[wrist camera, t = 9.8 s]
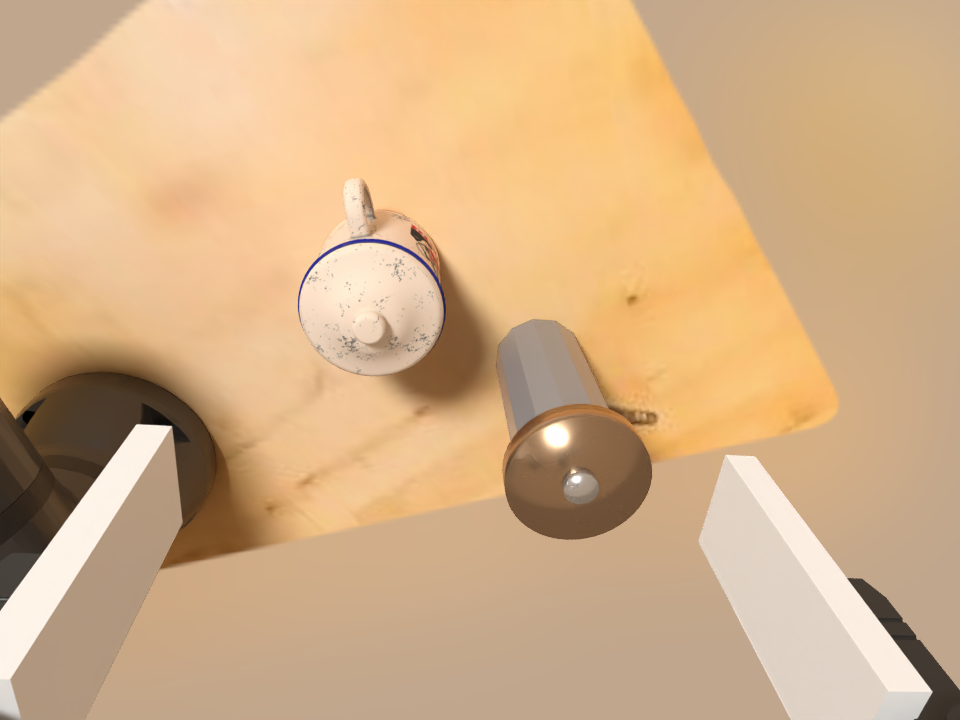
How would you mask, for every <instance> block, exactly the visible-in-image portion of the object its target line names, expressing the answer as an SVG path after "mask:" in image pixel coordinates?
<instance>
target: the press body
mask: <svg viewBox="0 0 960 720" xmlns="http://www.w3.org/2000/svg"><path fill="white" fill-rule="evenodd" d="M496 368H497V373H498V378H499V383H500V389H501V394H502V399H503V404H504V409H505V414H506V419H507V424H508V429H509V434H510V440H512V438H513V437H514V436H515V434H516V433H517V432H518V431H519V430H520V429H521V428H522V427H523V426H524V425H525V424H526V423H527V422H529V421H530V420H531V419H533V418H534V417H536V416H537V415H539V414H541V413H543V412H545V411H547V410H550V409H553V408H556V407H560V406H564V405H570V404H592V405H598V406H602V407H605V408H608V406H607V404H606V402H605V400H604V398H603V395H602V393H601V391H600V389H599V387H598V385H597V383H596V380H595V378H594V376H593V374H592V372H591V370H590V368H589V365H588V363H587V361H586V359H585V357H584V355H583V353H582V350H581V348H580V346H579V344H578V342H577V340H576V338H575V336H574V333H573V332H571V331H570V330H568V329H567V328H565V327H564V326H562V325H561V324H559V323H558V322H556V321H550V320H535V319H533V320H530V321H528V322H526V323H524V324H521V325H519V326H517V327H514V328H512V329H511V331H510V332H509V333H508V334H507V336H506V337H505V338H504V339H503V341H502V342H501V343H500V344H499V346H498V354H497V362H496ZM608 409H609V408H608Z"/></svg>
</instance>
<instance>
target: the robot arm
mask: <svg viewBox="0 0 960 720" xmlns="http://www.w3.org/2000/svg"><path fill="white" fill-rule="evenodd" d="M215 473H216V455H215V450H214V446H213V443H212V440H211V438H210V436H209V434H208V432H207V430H206V428H205V426H204V425H203V423H202V422H201V421H200V419H199V418H198V417H197V416H196V414H195V413H194V412H193V411H192V410H191V409H190V408H189V407H188V406H187V405H186V404H184V403H183V402H182V401H181V400H180V399H178V398H177V397H175V396H174V395H173V394H171V393H169V392H168V391H166V390H164V389H163V388H161V387H159V386H157V385H154V384H152V383H150V382H147V381H145V380H142V379H139V378H135V377H132V376H127V375H122V374H116V373H100V372H99V373H85V374H79V375H74V376H70V377H67V378H64V379H62V380H59V381H57V382H55V383H53V384H51V385H50V386H48V387H46V388H45V389H44V390H42V391H41V392H40V393H39V394H38V395H37V396H36V397H35V398H34V399H32V400H31V401H30V402H29V403H28V404H27V405H26V406H25V407H24V408H23V409H22V410H21V411H20V413H19V414H18V415H17V417H16V418H14V417H13V415H12V414H11V412H10V411H9V410H8V408H7V407H6V405H5V404H4V402H3V401H2V400H1V398H0V720H85V719H86V717H87V714H88V713H89V711H90V709H91V707H92V704H93V702H94V700H95V698H96V696H97V694H98V692H99V690H100V688H101V686H102V684H103V682H104V680H105V678H106V676H107V674H108V672H109V670H110V668H111V666H112V664H113V662H114V660H115V658H116V656H117V654H118V652H119V650H120V648H121V646H122V644H123V642H124V639H125V638H126V636H127V634H128V632H129V630H130V627H131V626H132V624H133V621H134V620H135V618H136V616H137V614H138V612H139V610H140V608H141V605H142V603H143V601H144V599H145V597H146V595H147V593H148V591H149V589H150V587H151V585H152V583H153V581H154V579H155V577H156V575H157V573H158V571H159V569H160V567H161V565H162V563H163V561H164V559H165V557H166V555H167V553H168V551H169V549H170V547H171V545H172V543H173V541H174V539H175V537H176V535H177V533H178V531H179V530H181V529H182V528H183V527H185V526H186V525H187V524H188V523H189V522H190V521H191V520H192V519H193V518H194V517H195V516H196V515H197V513H198V512H199V511H200V509H201V507H202V506H203V504H204V502H205V500H206V498H207V496H208V493H209V491H210V489H211V487H212V485H213V482H214V478H215ZM698 542H699V544H700V546H701V548H702V550H703V552H704V554H705V556H706V558H707V559H708V561H709V563H710V565H711V567H712V569H713V571H714V573H715V575H716V577H717V579H718V581H719V582H720V585H721V587H722V588H723V590H724V592H725V594H726V596H727V598H728V600H729V602H730V604H731V606H732V608H733V610H734V612H735V613H736V615H737V617H738V619H739V621H740V623H741V625H742V627H743V629H744V631H745V633H746V635H747V637H748V638H749V640H750V642H751V644H752V646H753V648H754V650H755V652H756V654H757V656H758V658H759V660H760V662H761V663H762V665H763V667H764V669H765V671H766V673H767V675H768V677H769V679H770V681H771V683H772V685H773V687H774V689H775V690H776V692H777V694H778V696H779V698H780V700H781V702H782V704H783V706H784V708H785V710H786V711H787V713H788V715H789V717H790V719H791V720H960V690H959V689H958V688H957V686H956V685H955V684H954V682H953V681H952V680H951V679H950V677H949V676H948V675H947V674H946V672H945V671H944V670H943V669H942V667H941V666H940V665H939V664H938V663H937V661H936V660H935V659H934V657H933V656H932V655H931V654H930V652H929V651H928V650H927V649H926V647H925V646H924V645H923V644H922V642H921V641H920V640H917V639H916V635H915V634H914V632H913V631H912V630H911V629H910V627H909V626H908V625H907V624H906V623H903V621H902V617H901V616H900V615H899V613H898V612H897V611H896V610H895V608H894V607H893V606H892V605H891V603H890V602H889V601H888V600H887V598H886V597H885V596H883V595H882V594H881V593H879V592H878V591H877V590H876V589H874V588H873V587H872V586H871V585H869V584H868V583H867V582H865V581H864V580H863V579H853V578H846V576H845V575H844V574H843V572H842V571H841V570H840V569H839V567H838V566H837V565H836V563H835V562H834V561H833V559H832V558H831V557H830V555H829V554H828V553H827V551H826V550H825V549H824V547H823V546H822V545H821V543H820V542H819V541H818V539H817V538H816V537H815V535H814V534H813V533H812V531H811V530H810V529H809V527H808V526H807V525H806V523H805V522H804V521H803V519H802V518H801V517H800V515H799V514H798V513H797V511H796V510H795V509H794V507H793V506H792V505H791V504H790V502H789V501H788V500H787V498H786V497H785V496H784V495H783V493H782V492H781V490H780V489H779V488H778V486H777V485H776V484H775V482H774V481H773V480H772V478H771V477H770V476H769V474H768V473H767V472H766V470H765V469H764V468H763V466H762V465H761V464H760V462H759V461H758V460H757V459H756V457H755V456H737V455H736V456H735V455H725V458H724V462H723V465H722V468H721V471H720V474H719V477H718V481H717V484H716V487H715V490H714V494H713V497H712V500H711V503H710V506H709V509H708V513H707V516H706V519H705V522H704V525H703V528H702V532H701V535H700V538H699V541H698Z"/></svg>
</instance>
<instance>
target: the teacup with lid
mask: <svg viewBox="0 0 960 720" xmlns="http://www.w3.org/2000/svg"><path fill="white" fill-rule="evenodd" d="M343 199H344V208H345V214H346V219H345V220H344V221H342V222H341V223H340V224H339V225H338V226H337V227H336V228H335V229H334V230H333V231H332V232H331V233H330V235H329V236H328V238H327V240H326V242H325V244H324V246H323V248H322V250H321V253H320V255H319V257H318V259H317V260H316V261H315V262H314V263H313V264H312V265H311V267H310V268H309V270H308V271H307V273H306V274H305V277H304V279H303V281H302V284H301V287H300V291H299V297H298V312H299V318H300V322H301V325H302V328H303V330H304V332H305V334H306V336H307V338H308V340H309V342H310V343H311V344H312V346H313V347H314V348H315V350H316V351H317V352H318V353H319V354H320V355H321V356H322V357H323V358H325V359H326V360H327V361H329V362H330V363H331V364H333V365H335V366H337V367H338V368H340V369H343V370H345V371H348V372H351V373H354V374H358V375H364V376H385V375H390V374H394V373H398V372H401V371H403V370H406V369H408V368H410V367H411V366H413V365H415V364H416V363H418V362H419V361H420V360H421V359H423V358H424V357H425V356H426V355H427V354H428V353H429V352H430V351H431V349H432V348H433V347H434V345H435V344H436V342H437V341H438V339H439V337H440V335H441V332H442V329H443V326H444V322H445V314H446V305H445V298H444V293H443V290H442V287H441V279H440V262H439V257H438V253H437V250H436V248H435V245H434V243H433V242H432V240H431V238H430V237H429V235H428V234H427V233H426V232H425V230H424V229H423V228H422V227H421V226H419V225H418V224H417V223H416V222H414V221H413V220H411V219H410V218H408V217H406V216H404V215H401V214H399V213H395V212H392V211H386V210H374V208H373V203H372V199H371V195H370V192H369V189H368V187H367V184H366V183H365V181H364V180H363V179H361V178H353V179H349V180H347V181H346V182H345V184H344V188H343Z"/></svg>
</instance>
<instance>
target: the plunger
mask: <svg viewBox="0 0 960 720" xmlns="http://www.w3.org/2000/svg"><path fill="white" fill-rule="evenodd" d="M502 471H503V480H504V486H505V492H506V497H507V501H508V503H509V506H510V508H511V510H512V511H513V513H514V514H515V516H516V517H517V518H518V519H519V520H520V521H521V522H522V523H523V524H524V525H526V526H527V527H528V528H530V529H532V530H533V531H535V532H537V533H539V534H542V535H545V536H548V537H552V538H557V539H567V540H569V539H583V538H589V537H593V536H597V535H600V534H603V533H605V532H607V531H610V530H612V529H614V528H615V527H617V526H619V525H620V524H622V523H623V522H625V521H626V520H627V519H628V518H629V517H630V516H631V515H633V514H634V513H635V511H636V510H637V509H638V508H639V507H640V505H641V504H642V502H643V501H644V499H645V497H646V495H647V493H648V490H649V488H650V484H651V479H652V465H651V460H650V457H649V454H648V452H647V450H646V448H645V446H644V444H643V442H642V440H641V438H640V436H639V434H638V432H637V431H636V429H635V428H634V426H633V425H632V424H631V423H630V422H629V421H628V420H627V419H626V418H624V417H623V416H622V415H620V414H618V413H617V412H615V411H613V410H610V409H608V408H605V407H602V406H598V405H592V404H570V405H564V406H560V407H556V408H553V409H550V410H547V411H545V412H543V413H541V414H539V415H537V416H536V417H534V418H533V419H531V420H530V421H529V422H527V423H526V424H525V425H524V426H523V427H522V428H521V429H520V430H519V431H518V432H517V433H516V434H515V436H514V437H513V438H512V440H511V442H510V443H509V445H508V447H507V450H506V452H505V455H504V460H503V469H502Z"/></svg>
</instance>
